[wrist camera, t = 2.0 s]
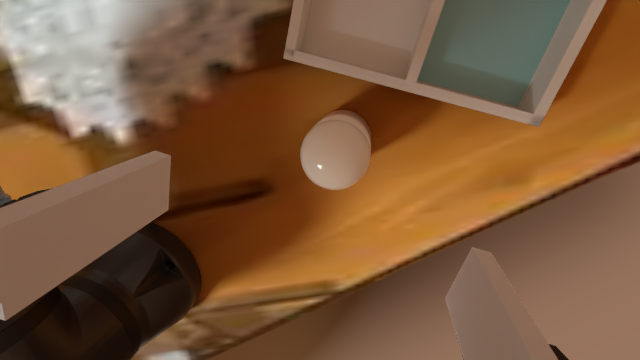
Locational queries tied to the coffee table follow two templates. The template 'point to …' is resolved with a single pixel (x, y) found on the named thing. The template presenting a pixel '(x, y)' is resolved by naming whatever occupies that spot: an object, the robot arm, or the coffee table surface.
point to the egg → (337, 150)
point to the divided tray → (449, 47)
